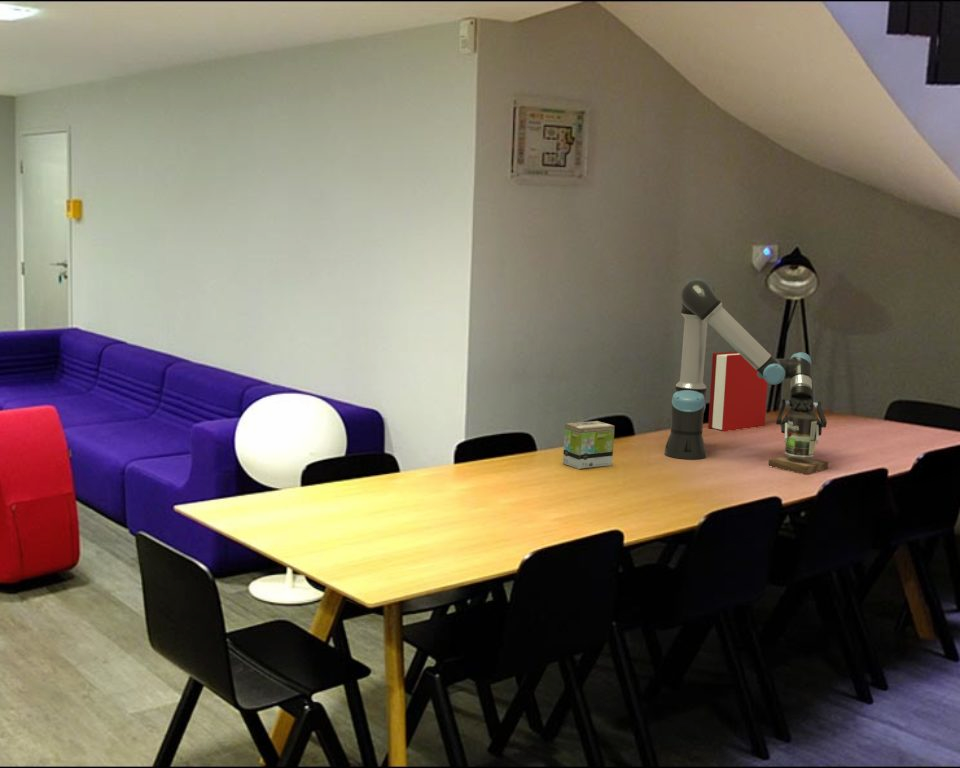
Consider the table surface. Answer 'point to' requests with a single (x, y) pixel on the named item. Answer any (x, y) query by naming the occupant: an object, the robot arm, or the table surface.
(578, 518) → the table surface
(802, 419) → the coffee can
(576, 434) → the tea box
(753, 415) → the book
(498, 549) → the table surface
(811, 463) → the walnut board
